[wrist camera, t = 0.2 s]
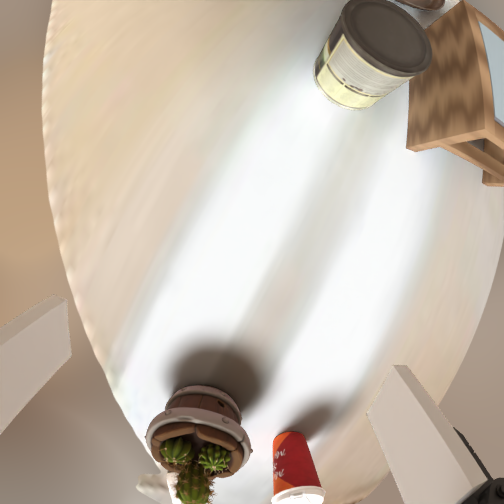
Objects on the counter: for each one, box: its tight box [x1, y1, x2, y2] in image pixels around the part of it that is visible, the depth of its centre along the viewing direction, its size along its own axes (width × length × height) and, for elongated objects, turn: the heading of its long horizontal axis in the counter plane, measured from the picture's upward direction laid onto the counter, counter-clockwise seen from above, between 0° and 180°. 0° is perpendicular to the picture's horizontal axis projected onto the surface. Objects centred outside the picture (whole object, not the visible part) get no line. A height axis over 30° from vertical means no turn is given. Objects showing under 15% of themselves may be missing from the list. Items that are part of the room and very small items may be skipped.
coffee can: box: [313, 0, 432, 110], centre depth 25 cm, size 10×10×14 cm
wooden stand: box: [406, 0, 504, 187], centre depth 25 cm, size 20×20×16 cm
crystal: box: [167, 472, 184, 504], centre depth 44 cm, size 7×7×24 cm
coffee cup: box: [272, 431, 325, 504], centre depth 35 cm, size 8×8×15 cm
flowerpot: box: [145, 385, 253, 504], centre depth 31 cm, size 14×15×20 cm
